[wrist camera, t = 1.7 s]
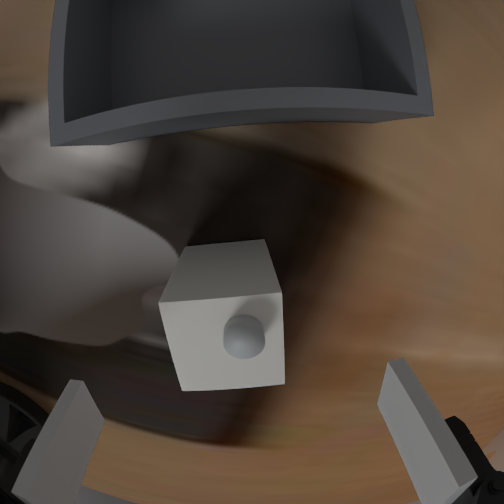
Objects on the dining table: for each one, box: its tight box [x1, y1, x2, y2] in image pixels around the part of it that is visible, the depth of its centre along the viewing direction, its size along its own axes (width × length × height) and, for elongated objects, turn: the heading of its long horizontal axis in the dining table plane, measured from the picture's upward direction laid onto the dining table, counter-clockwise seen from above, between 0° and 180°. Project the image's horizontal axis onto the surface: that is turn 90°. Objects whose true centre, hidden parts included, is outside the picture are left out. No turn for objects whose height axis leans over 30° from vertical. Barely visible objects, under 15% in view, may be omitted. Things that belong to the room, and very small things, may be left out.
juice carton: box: [158, 239, 285, 391], centre depth 19 cm, size 6×6×10 cm
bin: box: [48, 0, 434, 147], centre depth 14 cm, size 20×15×8 cm
